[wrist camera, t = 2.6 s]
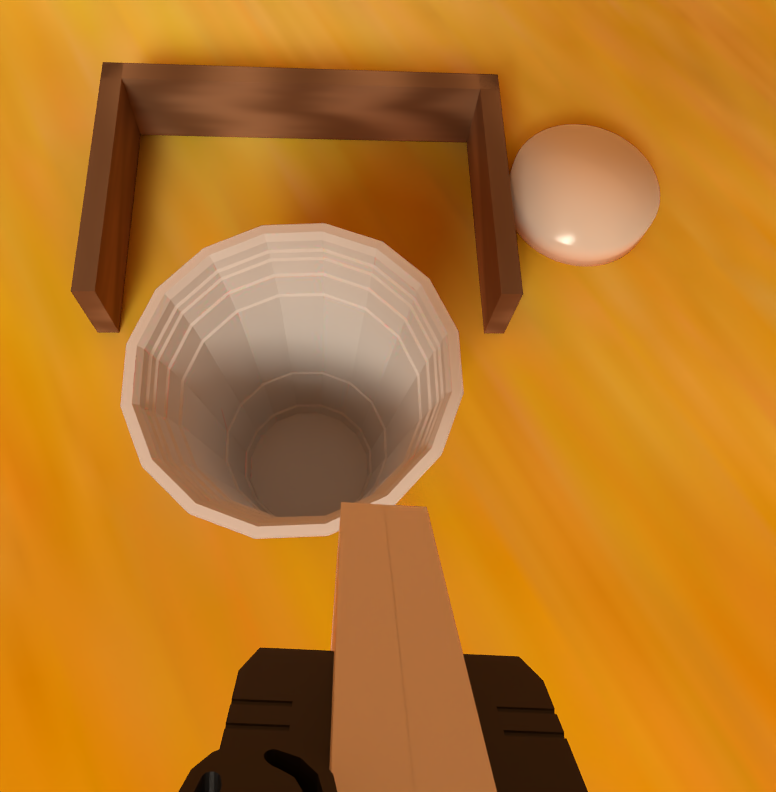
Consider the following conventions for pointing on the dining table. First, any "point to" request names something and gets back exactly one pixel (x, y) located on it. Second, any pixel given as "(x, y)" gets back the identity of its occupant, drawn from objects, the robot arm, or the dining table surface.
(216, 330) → the plastic cup
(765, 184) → the dining table surface
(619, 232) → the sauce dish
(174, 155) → the dining table surface
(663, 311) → the dining table surface
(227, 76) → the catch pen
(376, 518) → the robot arm
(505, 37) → the dining table surface
